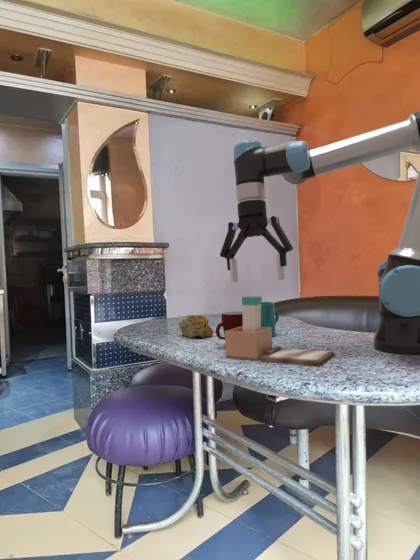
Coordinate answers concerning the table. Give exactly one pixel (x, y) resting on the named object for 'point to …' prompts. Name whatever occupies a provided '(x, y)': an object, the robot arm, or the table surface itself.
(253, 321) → the marker
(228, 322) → the mug
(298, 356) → the open book
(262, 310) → the cup
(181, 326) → the rock
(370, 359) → the table surface
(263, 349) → the pen pot
